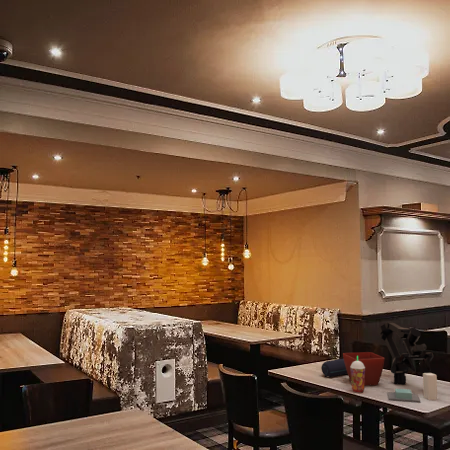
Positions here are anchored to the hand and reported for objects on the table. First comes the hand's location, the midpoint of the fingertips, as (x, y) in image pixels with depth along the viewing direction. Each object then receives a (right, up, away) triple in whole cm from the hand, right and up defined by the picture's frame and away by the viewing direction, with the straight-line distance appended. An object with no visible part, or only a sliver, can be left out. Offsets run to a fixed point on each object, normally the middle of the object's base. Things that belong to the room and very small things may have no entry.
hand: (422, 370), depth 275 cm
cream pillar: (+1, -13, -8) cm, 15 cm away
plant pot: (-26, -15, +25) cm, 39 cm away
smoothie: (-34, -14, +6) cm, 38 cm away
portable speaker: (-37, -17, +46) cm, 61 cm away
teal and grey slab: (-14, -13, -8) cm, 20 cm away
